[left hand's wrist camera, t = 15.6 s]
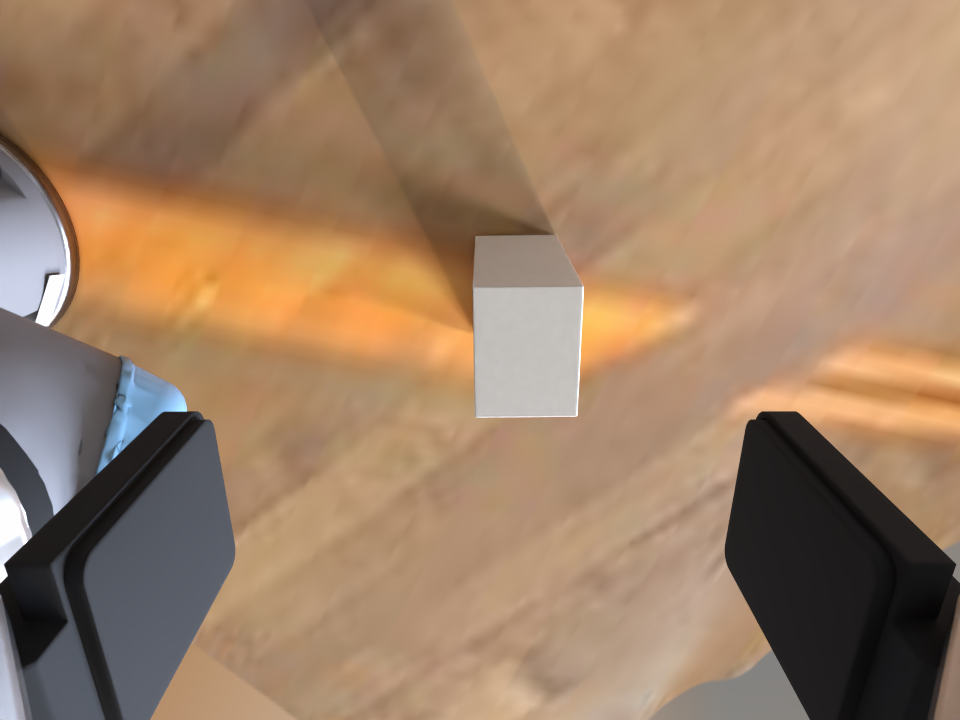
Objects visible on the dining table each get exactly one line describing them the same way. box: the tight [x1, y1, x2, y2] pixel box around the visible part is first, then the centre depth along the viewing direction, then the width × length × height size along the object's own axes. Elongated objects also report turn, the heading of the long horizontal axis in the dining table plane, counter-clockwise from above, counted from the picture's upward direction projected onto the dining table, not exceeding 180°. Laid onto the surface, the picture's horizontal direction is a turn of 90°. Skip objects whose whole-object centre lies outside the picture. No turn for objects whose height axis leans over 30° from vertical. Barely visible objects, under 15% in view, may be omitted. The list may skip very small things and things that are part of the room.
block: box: [473, 235, 584, 418], centre depth 36 cm, size 7×5×12 cm
